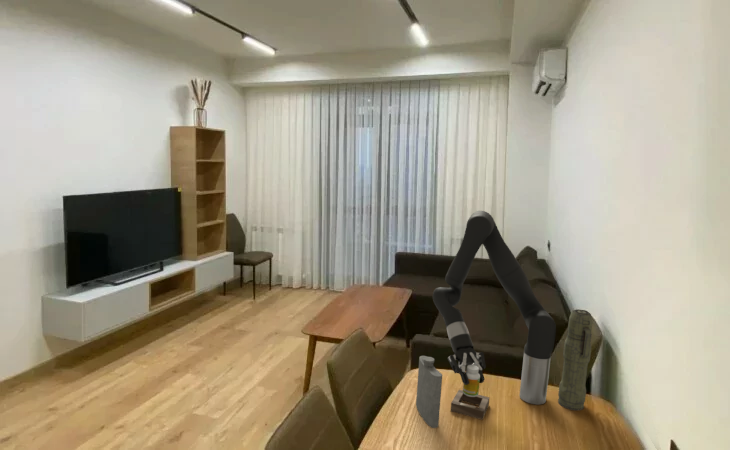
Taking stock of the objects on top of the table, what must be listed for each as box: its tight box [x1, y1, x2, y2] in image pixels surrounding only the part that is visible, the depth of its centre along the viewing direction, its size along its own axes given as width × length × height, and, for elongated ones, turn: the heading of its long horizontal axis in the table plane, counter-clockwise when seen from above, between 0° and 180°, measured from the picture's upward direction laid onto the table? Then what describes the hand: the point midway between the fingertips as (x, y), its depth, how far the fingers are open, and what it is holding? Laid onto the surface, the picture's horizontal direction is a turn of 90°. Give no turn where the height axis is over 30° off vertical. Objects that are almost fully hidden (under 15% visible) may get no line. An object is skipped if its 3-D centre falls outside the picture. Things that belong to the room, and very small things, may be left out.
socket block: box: [450, 389, 490, 421], centre depth 162 cm, size 11×11×3 cm
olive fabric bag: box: [557, 309, 593, 411], centre depth 167 cm, size 9×12×35 cm
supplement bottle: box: [462, 365, 481, 397], centre depth 161 cm, size 5×5×10 cm
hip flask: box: [415, 355, 443, 429], centre depth 155 cm, size 16×4×20 cm, turn 12°
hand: (474, 383), depth 160 cm, fingers closed on supplement bottle, 5 cm apart
